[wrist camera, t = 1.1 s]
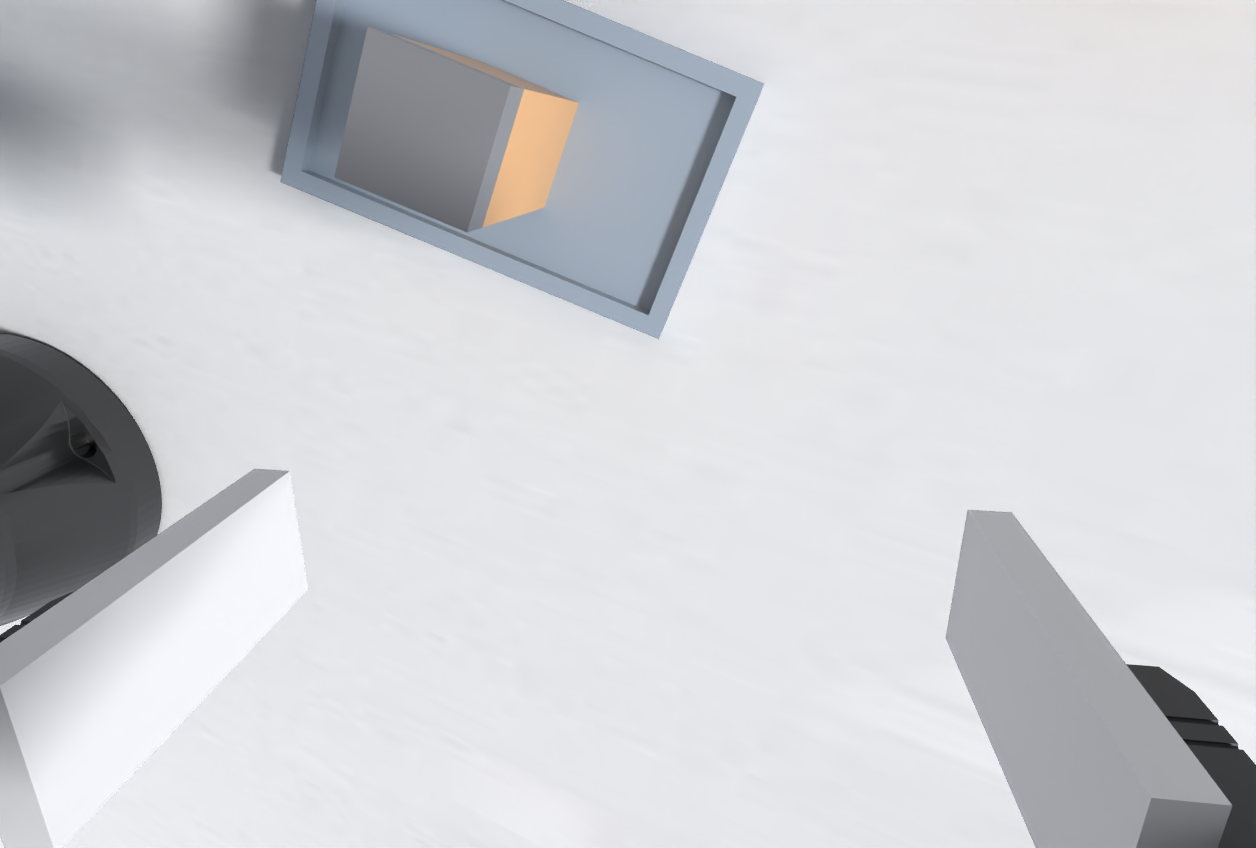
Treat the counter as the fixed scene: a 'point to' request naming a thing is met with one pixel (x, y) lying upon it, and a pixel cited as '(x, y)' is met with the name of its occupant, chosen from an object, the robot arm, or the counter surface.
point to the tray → (591, 159)
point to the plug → (450, 134)
